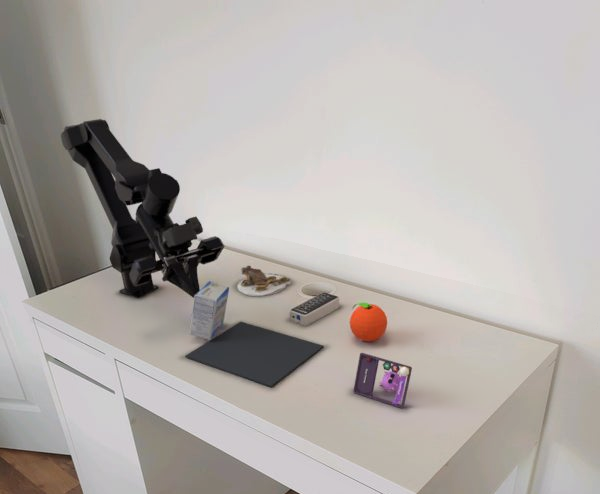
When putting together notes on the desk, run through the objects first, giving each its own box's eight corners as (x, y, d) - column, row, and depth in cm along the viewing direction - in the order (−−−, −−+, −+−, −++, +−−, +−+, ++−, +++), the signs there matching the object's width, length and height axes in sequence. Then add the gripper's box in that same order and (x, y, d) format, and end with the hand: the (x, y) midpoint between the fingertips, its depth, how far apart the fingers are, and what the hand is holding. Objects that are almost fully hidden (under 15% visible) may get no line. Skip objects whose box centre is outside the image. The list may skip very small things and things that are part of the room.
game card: (357, 353, 98) (409, 368, 93) (373, 349, 102) (422, 363, 98) (350, 393, 100) (400, 409, 95) (365, 387, 104) (414, 403, 100)
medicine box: (210, 341, 117) (217, 300, 112) (188, 335, 117) (194, 293, 113) (223, 325, 124) (230, 286, 119) (202, 319, 124) (208, 279, 119)
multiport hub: (340, 306, 128) (340, 296, 127) (305, 326, 121) (305, 315, 120) (324, 301, 131) (323, 291, 129) (289, 320, 124) (288, 310, 123)
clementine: (338, 336, 117) (337, 302, 113) (365, 325, 121) (365, 291, 117) (367, 352, 112) (367, 316, 108) (394, 339, 115) (395, 305, 111)
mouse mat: (185, 357, 113) (185, 355, 113) (240, 323, 124) (240, 321, 124) (271, 387, 103) (271, 385, 103) (323, 347, 114) (323, 345, 114)
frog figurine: (225, 291, 138) (223, 274, 136) (256, 272, 146) (254, 256, 144) (267, 300, 133) (266, 283, 131) (297, 280, 141) (296, 264, 139)
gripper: (123, 217, 107) (165, 293, 106) (213, 194, 117) (252, 263, 116) (113, 250, 117) (151, 320, 115) (197, 226, 127) (233, 291, 125)
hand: (198, 298), depth 118 cm, fingers closed
